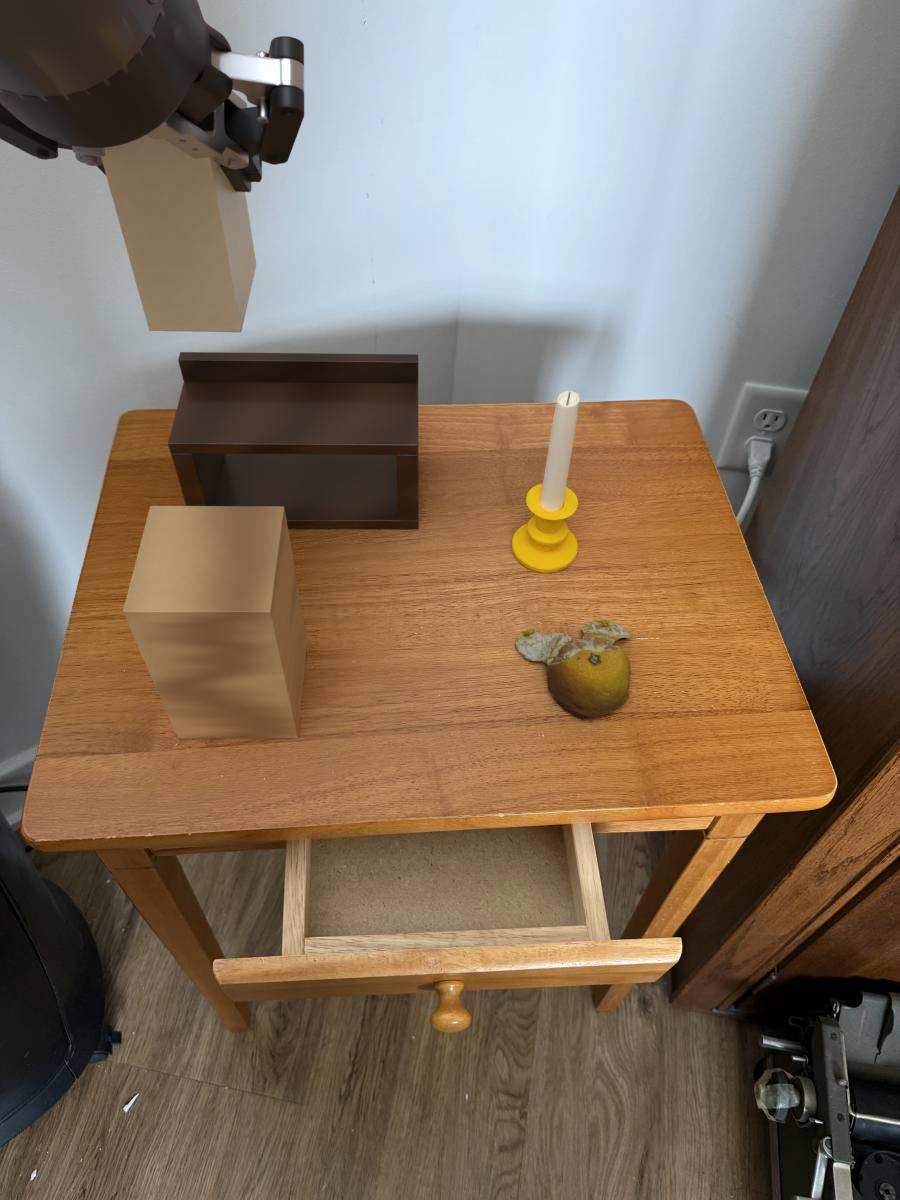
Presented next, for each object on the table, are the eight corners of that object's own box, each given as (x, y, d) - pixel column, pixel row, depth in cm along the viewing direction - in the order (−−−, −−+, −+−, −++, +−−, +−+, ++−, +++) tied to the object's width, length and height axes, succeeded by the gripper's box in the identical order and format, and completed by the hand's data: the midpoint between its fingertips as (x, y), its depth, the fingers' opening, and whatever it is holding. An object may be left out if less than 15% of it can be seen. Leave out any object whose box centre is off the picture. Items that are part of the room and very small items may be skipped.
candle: (539, 583, 68) (565, 428, 56) (498, 541, 71) (514, 384, 59) (590, 554, 70) (626, 398, 58) (548, 515, 73) (574, 357, 61)
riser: (177, 739, 59) (122, 611, 48) (196, 641, 64) (149, 505, 53) (298, 738, 60) (270, 611, 49) (307, 641, 64) (284, 505, 53)
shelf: (192, 528, 71) (160, 421, 62) (207, 459, 76) (180, 351, 67) (418, 529, 72) (418, 423, 63) (418, 460, 76) (418, 354, 68)
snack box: (148, 331, 43) (89, 117, 36) (171, 263, 47) (122, 56, 39) (241, 333, 44) (202, 120, 36) (256, 265, 47) (224, 59, 39)
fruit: (618, 618, 66) (626, 587, 64) (657, 712, 62) (668, 683, 59) (511, 635, 65) (515, 605, 62) (542, 733, 60) (548, 704, 57)
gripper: (283, -184, 25) (340, 89, 42) (-237, -202, 25) (33, 81, 42) (285, 98, 26) (340, 254, 43) (-216, 85, 26) (40, 248, 42)
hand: (188, 168), depth 42 cm, fingers closed on snack box, 4 cm apart
